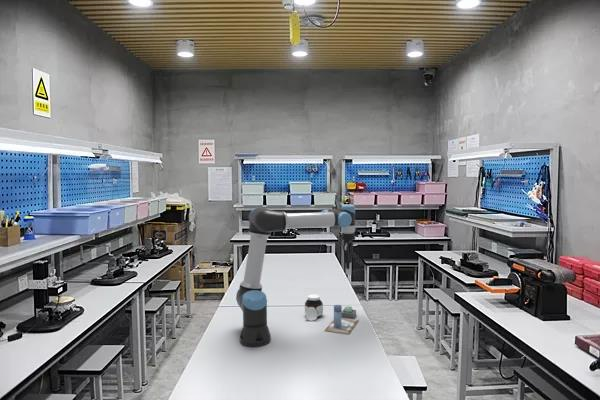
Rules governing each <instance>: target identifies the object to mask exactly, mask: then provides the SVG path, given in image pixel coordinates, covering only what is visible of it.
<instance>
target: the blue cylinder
mask: <svg viewBox="0 0 600 400" xmlns="http://www.w3.org/2000/svg"><path fill="white" fill-rule="evenodd" d="M342 308H343V306H342V305H341V304H335V305H333V320H334V327H335V328H341V316H342V311H343V309H342Z"/></svg>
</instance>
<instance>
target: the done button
mask: <svg viewBox="0 0 600 400" xmlns="http://www.w3.org/2000/svg"><path fill="white" fill-rule="evenodd" d="M344 309H345V312H346V313H352V310H353V307H352V306H345V307H344Z"/></svg>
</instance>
